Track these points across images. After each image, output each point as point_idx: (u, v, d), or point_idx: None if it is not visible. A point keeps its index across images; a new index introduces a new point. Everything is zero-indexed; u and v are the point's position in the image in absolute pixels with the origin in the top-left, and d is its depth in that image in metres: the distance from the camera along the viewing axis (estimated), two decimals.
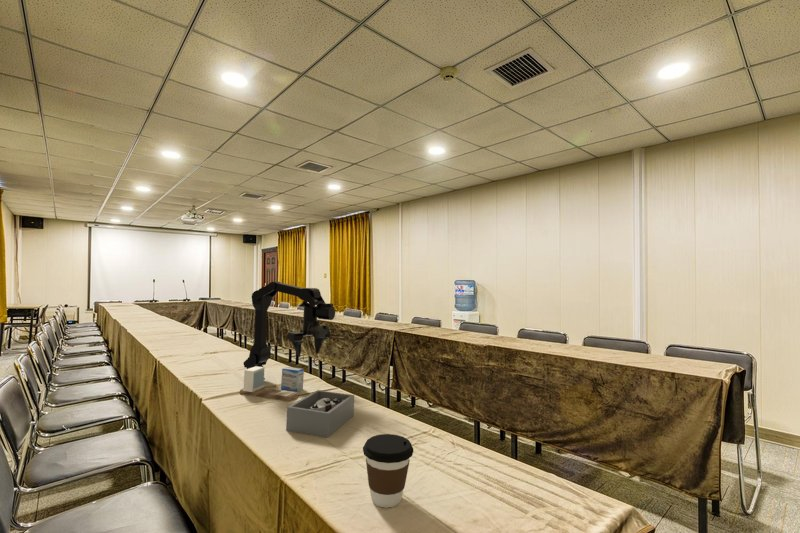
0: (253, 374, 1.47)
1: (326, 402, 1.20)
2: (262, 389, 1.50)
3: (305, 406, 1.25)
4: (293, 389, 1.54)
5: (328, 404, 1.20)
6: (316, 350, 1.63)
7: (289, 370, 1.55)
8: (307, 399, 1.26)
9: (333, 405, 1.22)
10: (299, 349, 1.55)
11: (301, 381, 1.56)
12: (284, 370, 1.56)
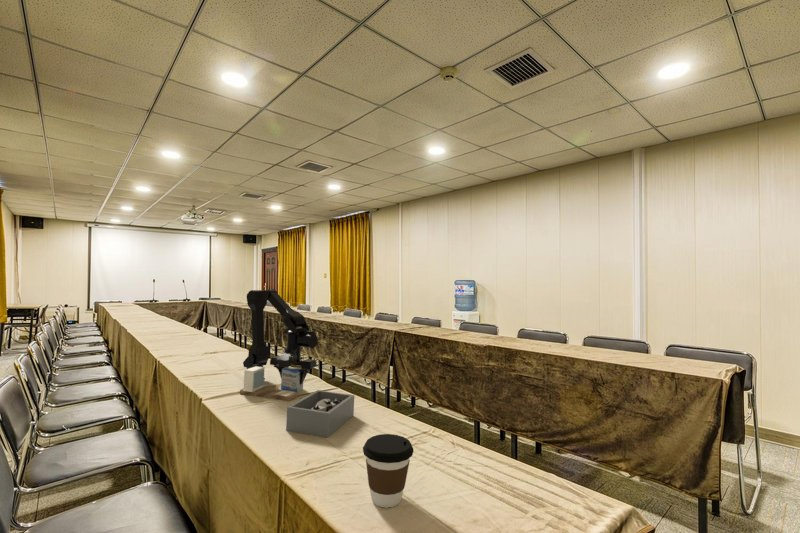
0: (253, 374, 1.47)
1: (327, 403, 1.19)
2: (262, 389, 1.50)
3: (305, 406, 1.25)
4: (293, 389, 1.54)
5: (329, 405, 1.19)
6: None
7: (289, 370, 1.55)
8: (307, 399, 1.26)
9: (334, 406, 1.21)
10: (280, 374, 1.57)
11: None
12: (284, 370, 1.56)
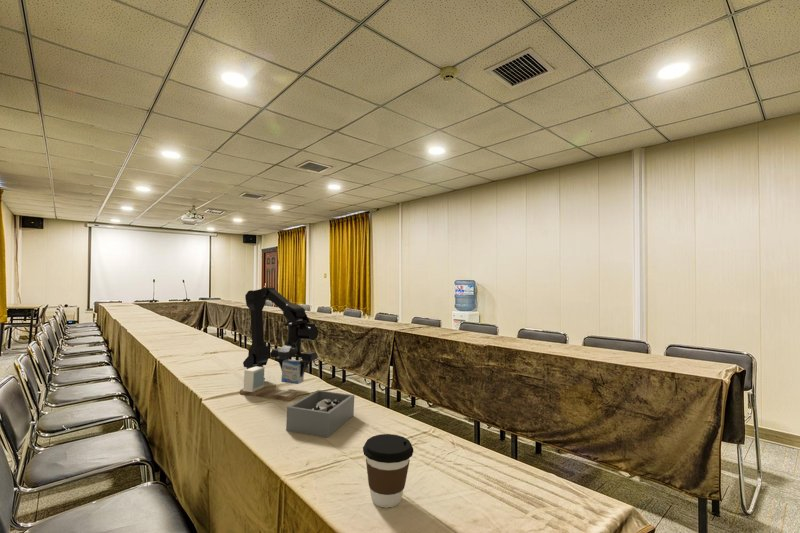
0: (253, 374, 1.47)
1: (327, 403, 1.19)
2: (262, 389, 1.50)
3: (305, 406, 1.25)
4: (294, 381, 1.54)
5: (329, 405, 1.19)
6: None
7: (290, 362, 1.55)
8: (307, 399, 1.26)
9: (334, 406, 1.21)
10: (281, 366, 1.57)
11: None
12: (285, 362, 1.56)
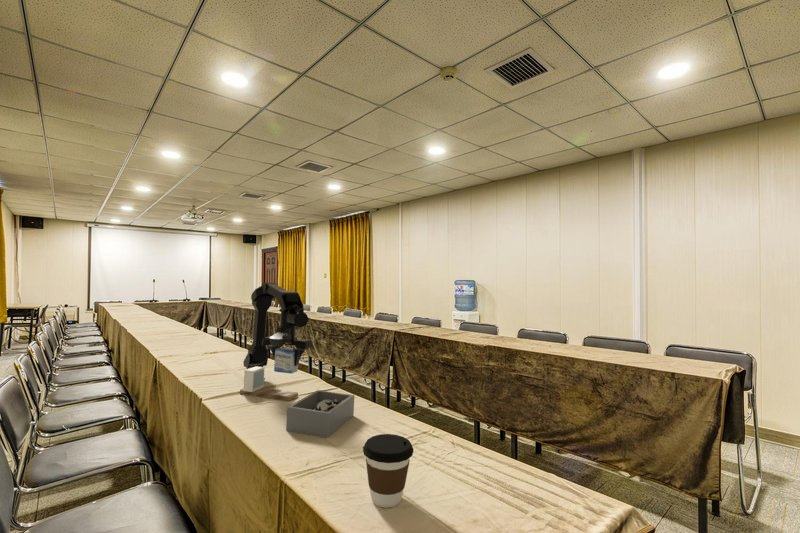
0: (253, 374, 1.47)
1: (328, 404, 1.19)
2: (262, 389, 1.50)
3: (305, 406, 1.25)
4: (287, 371, 1.44)
5: (330, 405, 1.19)
6: None
7: (283, 350, 1.45)
8: (307, 399, 1.26)
9: (334, 406, 1.21)
10: (274, 355, 1.47)
11: None
12: (278, 350, 1.46)
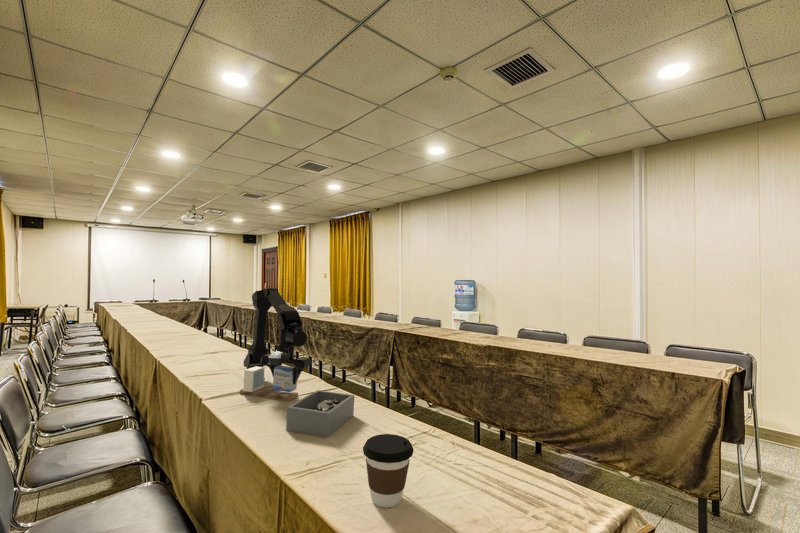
0: (253, 374, 1.47)
1: (329, 404, 1.18)
2: (262, 389, 1.50)
3: (305, 406, 1.25)
4: (286, 389, 1.44)
5: (331, 406, 1.19)
6: None
7: (282, 369, 1.45)
8: (307, 399, 1.26)
9: None
10: (272, 373, 1.47)
11: None
12: (276, 369, 1.45)
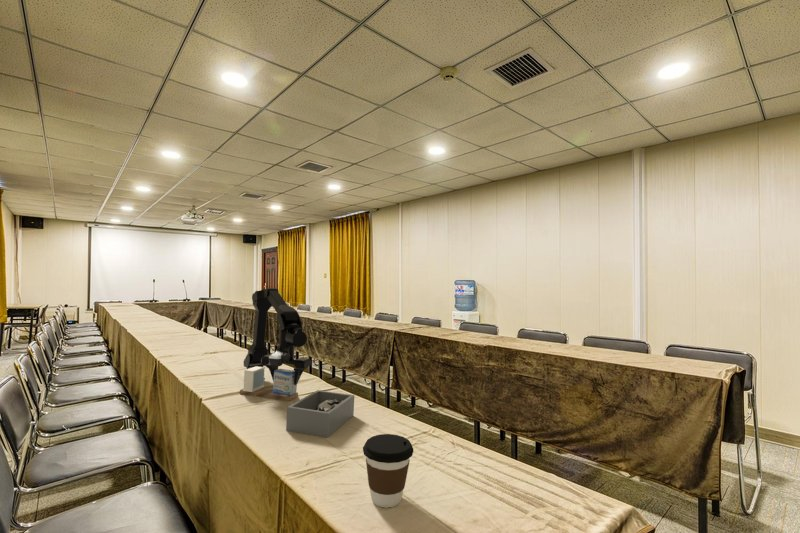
0: (253, 374, 1.47)
1: (331, 404, 1.18)
2: (262, 389, 1.50)
3: (305, 406, 1.25)
4: (286, 393, 1.44)
5: (332, 406, 1.19)
6: None
7: (282, 372, 1.45)
8: (307, 399, 1.26)
9: None
10: (271, 374, 1.47)
11: None
12: (276, 372, 1.45)
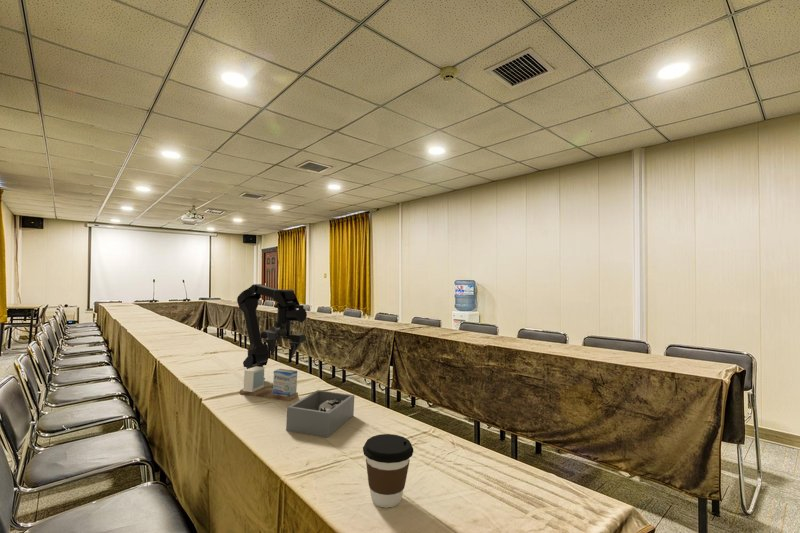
0: (253, 374, 1.47)
1: (332, 404, 1.18)
2: (262, 389, 1.50)
3: (305, 406, 1.25)
4: (286, 393, 1.44)
5: (333, 406, 1.19)
6: None
7: (281, 372, 1.45)
8: (307, 399, 1.26)
9: None
10: (269, 348, 1.60)
11: (294, 384, 1.46)
12: (276, 372, 1.45)
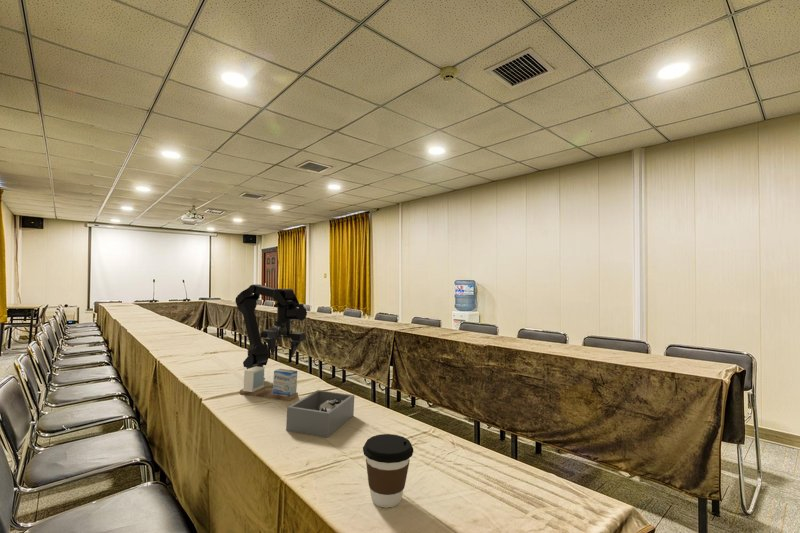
0: (253, 374, 1.47)
1: (332, 404, 1.18)
2: (262, 389, 1.50)
3: (305, 406, 1.25)
4: (286, 393, 1.44)
5: (334, 406, 1.19)
6: None
7: (281, 372, 1.45)
8: (307, 399, 1.26)
9: None
10: (270, 347, 1.60)
11: (294, 384, 1.46)
12: (276, 372, 1.45)
